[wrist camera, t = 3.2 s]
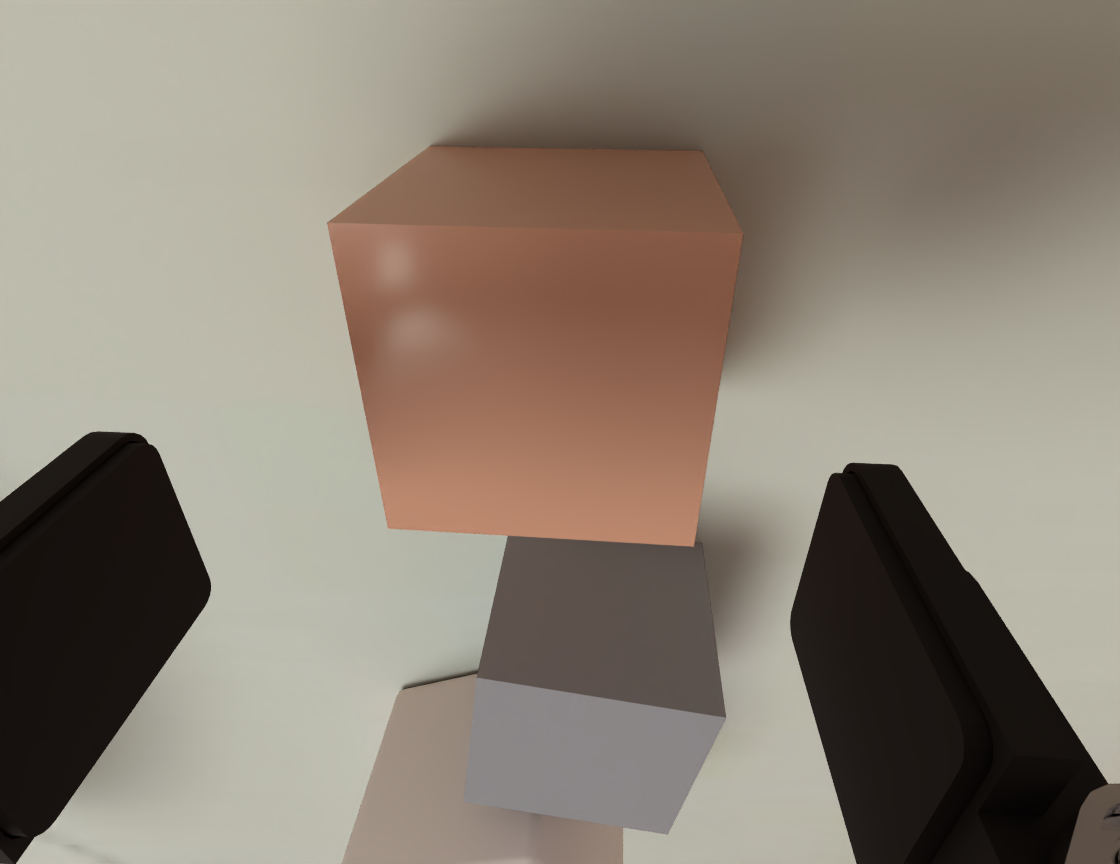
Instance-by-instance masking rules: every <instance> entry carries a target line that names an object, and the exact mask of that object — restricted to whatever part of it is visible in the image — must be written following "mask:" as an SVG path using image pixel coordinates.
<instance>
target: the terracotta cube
mask: <svg viewBox="0 0 1120 864" xmlns="http://www.w3.org/2000/svg"><path fill="white" fill-rule="evenodd" d="M327 224H328V229H329V234H330V239H331V244H332V249H333V254H334V259H335V264H336V270H337V275H338V280H339V285H340V290H341V295H342V300H343V305H344V310H345V315H346V320H347V325H348V330H349V335H350V340H351V345H352V350H353V355H354V360H355V365H356V370H357V375H358V380H359V385H360V390H361V395H362V400H363V405H364V410H365V415H366V420H367V425H368V430H369V435H370V440H371V445H372V450H373V455H374V460H375V465H376V470H377V475H378V480H379V485H380V490H381V495H382V500H383V505H384V510H385V515H386V520H387V525H388V528H390V529H407V530H423V531H440V532H457V533H474V534H490V535H507V536H524V537H541V538H557V539H574V540H591V541H608V542H624V543H641V544H658V545H675V546H691V547H694V543H695V536H696V530H697V524H698V517H699V511H700V505H701V498H702V492H703V486H704V480H705V473H706V467H707V461H708V454H709V448H710V442H711V435H712V429H713V423H714V416H715V410H716V404H717V398H718V391H719V385H720V379H721V372H722V366H723V360H724V353H725V347H726V341H727V334H728V328H729V322H730V315H731V309H732V303H733V297H734V290H735V284H736V278H737V271H738V265H739V259H740V252H741V246H742V240H743V231H742V229H741V227H740V225H739V223H738V221H737V219H736V217H735V215H734V213H733V211H732V209H731V207H730V205H729V203H728V201H727V199H726V197H725V195H724V193H723V191H722V189H721V187H720V185H719V183H718V181H717V179H716V177H715V175H714V173H713V171H712V169H711V167H710V165H709V163H708V161H707V159H706V157H705V155H704V153H703V151H690V150H629V149H569V148H508V147H447V146H429V147H428V148H426V149H425V150H424V151H422V152H421V153H420V154H418V155H417V156H416V157H414V158H413V159H412V160H410V161H409V162H408V163H406V164H405V165H404V166H402V167H401V168H400V169H398V170H397V171H396V172H394V173H393V174H392V175H390V176H389V177H388V178H386V179H385V180H384V181H382V182H381V183H380V184H378V185H377V186H376V187H374V188H373V189H372V190H370V191H369V192H368V193H366V194H365V195H364V196H362V197H361V198H360V199H358V200H357V201H356V202H354V203H353V204H352V205H350V206H349V207H348V208H346V209H345V210H344V211H342V212H341V213H340V214H338V215H337V216H336V217H334V218H333V219H332V220H330V221H329V222H328V223H327Z"/></svg>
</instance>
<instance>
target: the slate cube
mask: <svg viewBox="0 0 1120 864" xmlns="http://www.w3.org/2000/svg"><path fill="white" fill-rule="evenodd" d="M725 719H726V713H725V706H724V699H723V692H722V684H721V677H720V670H719V662H718V655H717V648H716V641H715V633H714V626H713V619H712V612H711V604H710V597H709V590H708V582H707V575H706V568H705V561H704V553H703V546H702V543H697V542H695V543H694V547H691V546H675V545H658V544H641V543H624V542H608V541H591V540H574V539H557V538H541V537H524V536H508V538H507V543H506V547H505V552H504V556H503V561H502V565H501V570H500V574H499V579H498V583H497V588H496V592H495V597H494V601H493V606H492V610H491V615H490V620H489V624H488V629H487V633H486V638H485V642H484V647H483V651H482V656H481V660H480V665H479V669H478V674H477V679H476V689H475V698H474V707H473V717H472V726H471V735H470V745H469V754H468V763H467V773H466V782H465V791H464V801H463V802H468V803H474V804H480V805H486V806H493V807H499V808H505V809H511V810H518V811H524V812H530V813H537V814H543V815H549V816H555V817H562V818H568V819H574V820H580V821H587V822H593V823H599V824H605V825H612V826H618V827H624V828H630V829H637V830H643V831H649V832H655V833H662V834H668V833H669V831H670V829H671V827H672V825H673V823H674V821H675V819H676V817H677V815H678V813H679V811H680V809H681V807H682V805H683V803H684V801H685V799H686V797H687V795H688V793H689V791H690V789H691V787H692V785H693V783H694V781H695V779H696V777H697V775H698V773H699V771H700V769H701V767H702V765H703V763H704V761H705V759H706V757H707V755H708V753H709V751H710V749H711V747H712V745H713V743H714V741H715V739H716V737H717V735H718V733H719V731H720V729H721V727H722V725H723V723H724V721H725Z"/></svg>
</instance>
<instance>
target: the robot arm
mask: <svg viewBox="0 0 1120 864" xmlns="http://www.w3.org/2000/svg"><path fill="white" fill-rule="evenodd" d="M210 592H211V582H210V578H209V576H208V573H207V571H206V568H205V566H204V563H203V561H202V558H201V556H200V553H199V551H198V548H197V546H196V543H195V541H194V538H193V536H192V533H191V531H190V528H189V526H188V524H187V521H186V519H185V516H184V514H183V511H182V509H181V506H180V504H179V501H178V499H177V496H176V494H175V491H174V489H173V486H172V484H171V481H170V479H169V476H168V474H167V472H166V469H165V467H164V464H163V462H162V459H161V457H160V454H159V452H158V451H157V449H156V448H155V447H154V446H153V445H150V444H148V442H147V440H146V439H145V438H144V437H142V436H141V435H139V434H136V433H121V432H91V433H89V434H87V435H85V436H84V437H82V438H81V439H80V440H78V441H77V442H76V443H75V444H73V445H72V446H71V447H69V448H68V449H67V450H66V451H64V452H63V453H62V454H61V455H59V456H58V457H57V458H55V459H54V460H53V461H52V462H50V463H49V464H48V465H47V466H45V467H44V468H43V469H41V470H40V471H39V472H38V473H36V474H35V475H34V476H32V477H31V478H30V479H29V480H27V481H26V482H25V483H24V484H22V485H21V486H20V487H18V488H17V489H16V490H15V491H13V492H12V493H11V494H10V495H8V496H7V497H6V498H4V499H3V500H2V501H1V502H0V863H2V864H16V863H17V861H18V860H19V858H20V857H21V856H22V854H23V853H24V851H25V850H26V849H27V847H28V846H29V844H30V843H31V841H32V840H33V839H34V837H36V836H38V835H40V834H42V833H43V832H45V831H46V830H47V829H48V828H49V827H50V826H51V825H52V824H53V823H54V821H55V820H56V819H57V817H58V816H59V815H60V813H61V812H62V810H63V809H64V807H65V806H66V805H67V803H68V802H69V800H70V799H71V797H72V796H73V795H74V793H75V792H76V790H77V789H78V787H79V786H80V785H81V783H82V782H83V780H84V779H85V777H86V776H87V774H88V773H89V772H90V770H91V769H92V767H93V766H94V764H95V763H96V762H97V760H98V759H99V757H100V756H101V754H102V753H103V752H104V750H105V749H106V747H107V746H108V744H109V743H110V742H111V740H112V739H113V737H114V736H115V734H116V733H117V732H118V730H119V729H120V727H121V726H122V724H123V723H124V722H125V720H126V719H127V717H128V716H129V714H130V713H131V712H132V710H133V709H134V707H135V706H136V704H137V703H138V701H139V700H140V699H141V697H142V696H143V694H144V693H145V691H146V690H147V689H148V687H149V686H150V684H151V683H152V681H153V680H154V679H155V677H156V676H157V674H158V673H159V671H160V670H161V669H162V667H163V666H164V664H165V663H166V661H167V660H168V659H169V657H170V656H171V654H172V653H173V651H174V650H175V649H176V647H177V646H178V644H179V643H180V641H181V640H182V638H183V637H184V636H185V634H186V633H187V631H188V630H189V628H190V627H191V626H192V624H193V623H194V621H195V620H196V618H197V617H198V616H199V614H200V613H201V611H202V610H203V608H204V607H205V605H206V604H207V602H208V599H209V596H210ZM790 628H791V636H792V640H793V644H794V647H795V651H796V654H797V658H798V661H799V665H800V668H801V672H802V675H803V679H804V682H805V686H806V689H807V693H808V696H809V699H810V703H811V706H812V710H813V713H814V717H815V720H816V724H817V727H818V731H819V734H820V738H821V741H822V745H823V748H824V752H825V755H826V759H827V762H828V766H829V769H830V773H831V776H832V779H833V783H834V786H835V790H836V793H837V797H838V800H839V804H840V807H841V811H842V814H843V818H844V821H845V825H846V828H847V832H848V835H849V839H850V842H851V846H852V849H853V853H854V856H855V860H856V863H857V864H1120V784H1108V783H1107V781H1106V780H1105V778H1104V777H1103V775H1102V773H1101V772H1100V770H1099V769H1098V767H1097V766H1096V764H1095V763H1094V761H1093V760H1092V758H1091V756H1090V755H1089V753H1088V752H1087V750H1086V749H1085V747H1084V746H1083V744H1082V743H1081V741H1080V739H1079V738H1078V736H1077V735H1076V733H1075V732H1074V730H1073V729H1072V727H1071V726H1070V724H1069V722H1068V721H1067V719H1066V718H1065V716H1064V715H1063V713H1062V712H1061V710H1060V708H1059V707H1058V705H1057V704H1056V702H1055V701H1054V699H1053V698H1052V696H1051V695H1050V693H1049V691H1048V690H1047V688H1046V687H1045V685H1044V684H1043V682H1042V681H1041V679H1040V678H1039V676H1038V674H1037V673H1036V671H1035V670H1034V668H1033V667H1032V665H1031V664H1030V662H1029V661H1028V659H1027V657H1026V656H1025V654H1024V653H1023V651H1022V650H1021V648H1020V647H1019V645H1018V644H1017V642H1016V640H1015V639H1014V637H1013V636H1012V634H1011V633H1010V631H1009V630H1008V628H1007V627H1006V625H1005V623H1004V622H1003V620H1002V619H1001V617H1000V616H999V614H998V613H997V611H996V610H995V608H994V606H993V605H992V603H991V602H990V600H989V599H988V597H987V596H986V594H985V593H984V591H983V589H982V588H981V586H980V585H979V583H978V582H977V581H976V580H975V578H974V577H973V576H972V575H971V574H970V573H969V572H967V571H966V570H965V569H964V568H963V566H962V565H961V563H960V561H959V560H958V558H957V557H956V555H955V554H954V552H953V550H952V549H951V547H950V546H949V544H948V543H947V541H946V540H945V538H944V536H943V535H942V533H941V532H940V530H939V529H938V527H937V525H936V524H935V522H934V521H933V519H932V518H931V516H930V514H929V513H928V511H927V510H926V508H925V507H924V505H923V503H922V502H921V500H920V499H919V497H918V496H917V494H916V492H915V491H914V489H913V488H912V486H911V485H910V483H909V482H908V480H907V478H906V477H905V475H904V474H903V472H902V471H901V470H900V468H899V467H898V466H896V465H891V464H867V463H850V464H848V465H847V466H846V467H845V468H844V470H843V473H834V474H832V475H831V476H830V478H829V481H828V483H827V487H826V490H825V494H824V497H823V501H822V505H821V508H820V512H819V515H818V519H817V522H816V526H815V529H814V533H813V536H812V540H811V544H810V547H809V551H808V554H807V558H806V561H805V565H804V568H803V572H802V576H801V579H800V583H799V586H798V590H797V593H796V597H795V600H794V604H793V607H792V611H791V619H790Z"/></svg>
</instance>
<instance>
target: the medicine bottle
mask: <svg viewBox="0 0 1120 864" xmlns="http://www.w3.org/2000/svg"><path fill="white" fill-rule="evenodd" d="M476 679H477V674H473V675H468V676H464V677H459V678H455V679H450V680H445V681H441V682H436V683H431V684H427V685H422V686H417V687H413V688H408V689H404V690H402V691H400V692H399V693H398V695H397V697H396V700H395V703H394V706H393V709H392V712H391V715H390V718H389V721H388V724H387V727H386V730H385V733H384V736H383V739H382V742H381V745H380V748H379V751H378V754H377V757H376V760H375V763H374V766H373V770H372V773H371V776H370V779H369V782H368V785H367V788H366V791H365V794H364V797H363V800H362V803H361V806H360V809H359V812H358V815H357V818H356V821H355V824H354V827H353V830H352V833H351V836H350V839H349V842H348V845H347V848H346V851H345V854H344V858H343V861H342V864H623V827H618V826H612V825H605V824H599V823H593V822H587V821H580V820H574V819H568V818H562V817H555V816H549V815H543V814H537V813H530V812H524V811H518V810H511V809H505V808H499V807H493V806H486V805H480V804H474V803H468V802H463V801H464V791H465V782H466V773H467V763H468V754H469V745H470V735H471V726H472V717H473V707H474V698H475V689H476Z"/></svg>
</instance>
